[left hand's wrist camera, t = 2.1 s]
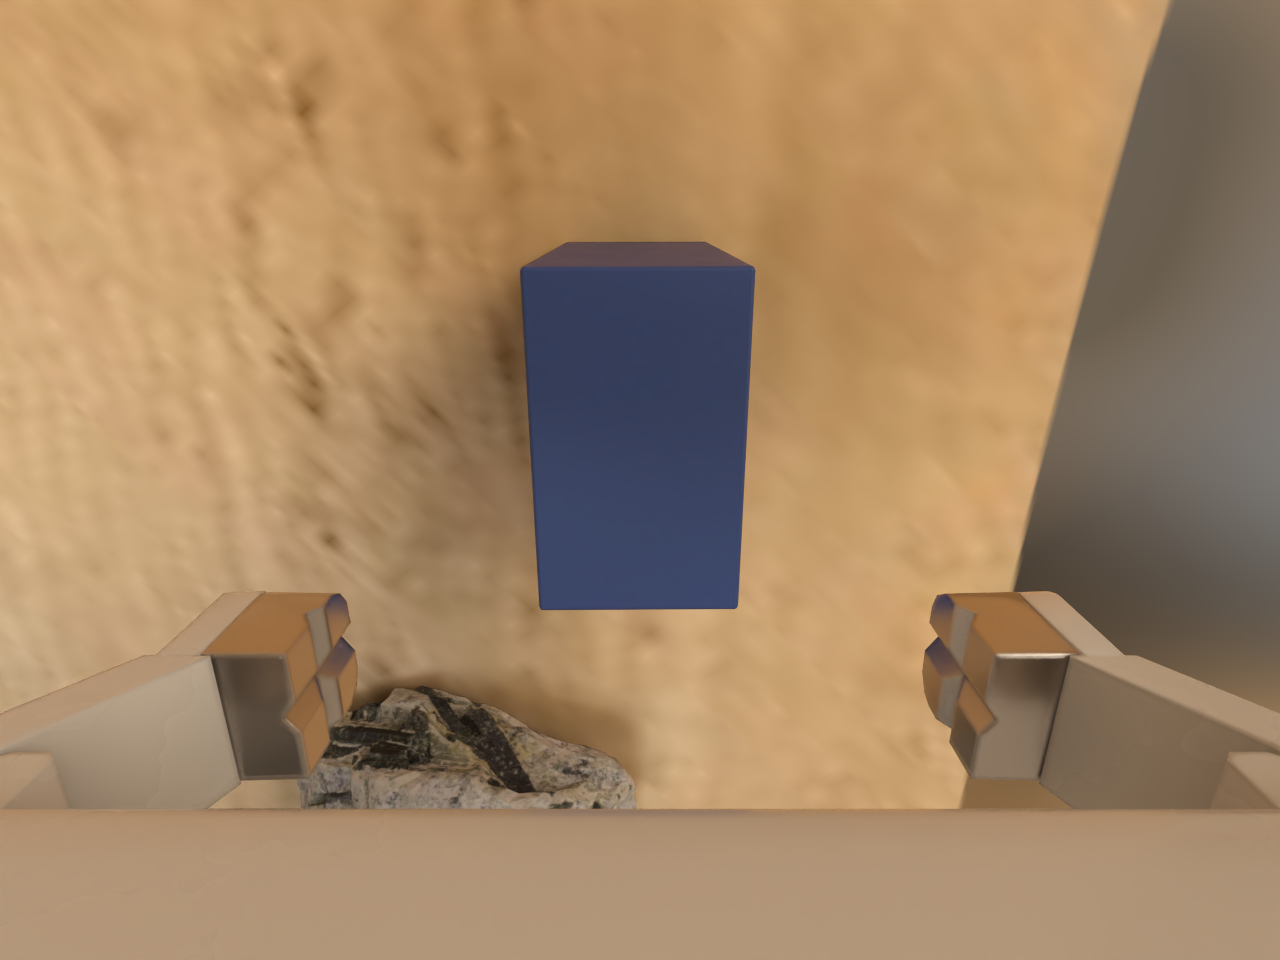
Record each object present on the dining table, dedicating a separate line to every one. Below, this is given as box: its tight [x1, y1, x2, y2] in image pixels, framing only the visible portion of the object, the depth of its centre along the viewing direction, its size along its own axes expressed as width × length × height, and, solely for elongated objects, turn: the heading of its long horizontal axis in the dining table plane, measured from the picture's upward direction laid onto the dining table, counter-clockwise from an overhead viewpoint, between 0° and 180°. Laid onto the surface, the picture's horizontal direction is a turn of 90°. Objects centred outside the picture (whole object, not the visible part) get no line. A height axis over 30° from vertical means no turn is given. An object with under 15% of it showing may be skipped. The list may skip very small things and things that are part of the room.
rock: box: [298, 686, 637, 809], centre depth 31 cm, size 15×10×7 cm
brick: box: [520, 242, 755, 610], centre depth 22 cm, size 5×8×11 cm, turn 0°
